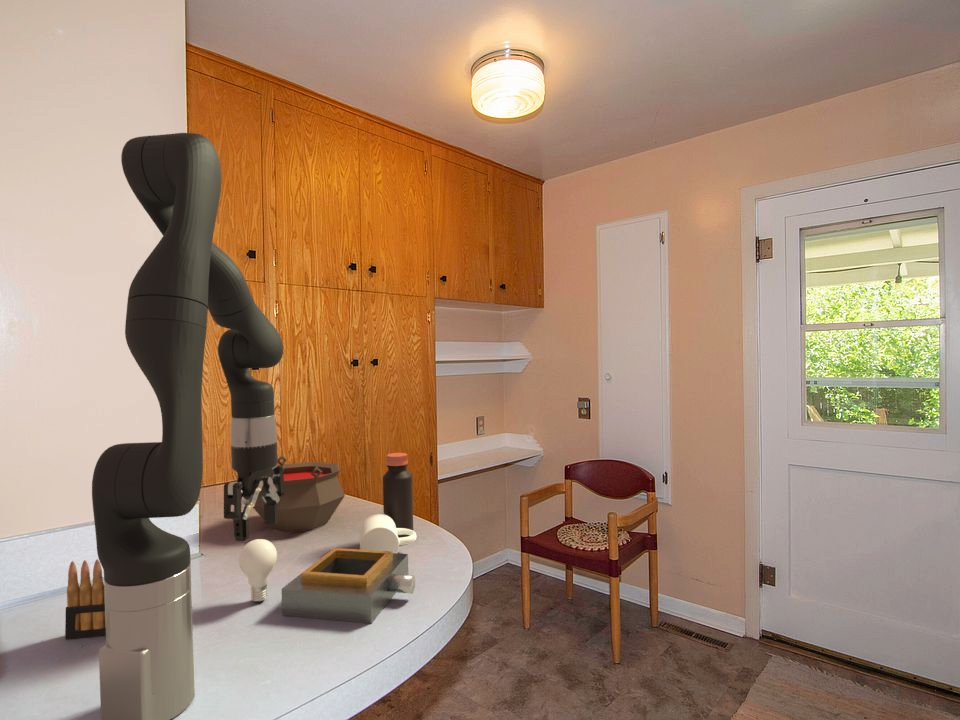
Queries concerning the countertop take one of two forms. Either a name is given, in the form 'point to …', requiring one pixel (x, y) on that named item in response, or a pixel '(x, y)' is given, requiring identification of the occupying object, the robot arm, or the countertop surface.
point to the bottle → (398, 491)
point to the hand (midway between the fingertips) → (257, 531)
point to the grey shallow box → (348, 585)
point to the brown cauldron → (305, 496)
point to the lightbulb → (258, 566)
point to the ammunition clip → (85, 603)
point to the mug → (383, 534)
